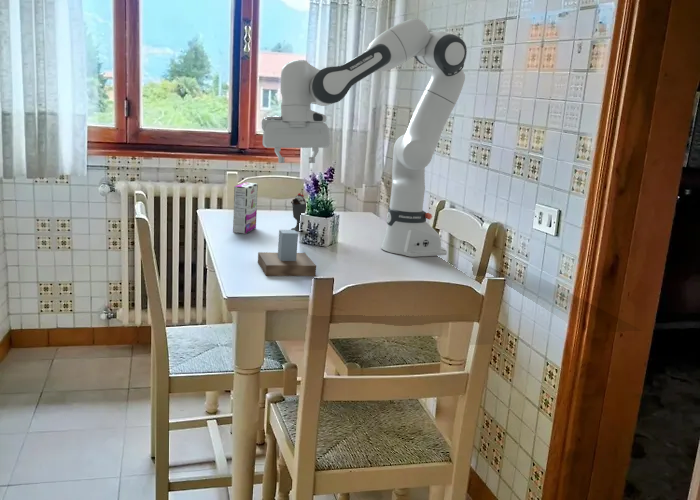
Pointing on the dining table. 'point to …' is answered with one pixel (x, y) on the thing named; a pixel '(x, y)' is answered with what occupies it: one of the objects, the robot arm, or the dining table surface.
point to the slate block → (287, 245)
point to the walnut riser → (286, 265)
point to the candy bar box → (245, 207)
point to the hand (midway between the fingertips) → (296, 163)
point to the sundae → (298, 208)
